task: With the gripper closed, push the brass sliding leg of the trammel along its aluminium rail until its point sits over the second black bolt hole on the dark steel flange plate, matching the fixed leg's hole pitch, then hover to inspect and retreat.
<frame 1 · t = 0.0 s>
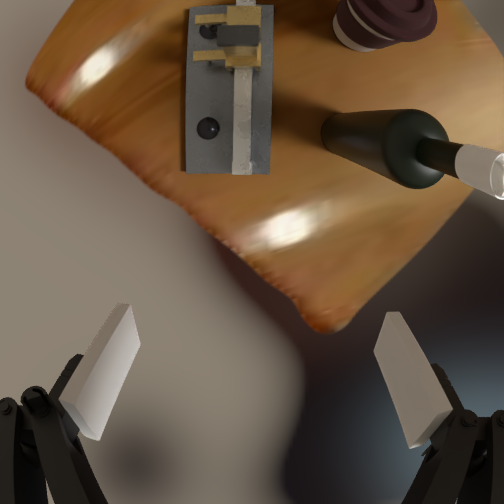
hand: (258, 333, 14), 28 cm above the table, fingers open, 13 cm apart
trammel plate: (229, 84, 33), on the table
wine bottle: (341, 134, 36), on the table
coffee cup: (356, 30, 29), on the table
sliding leg: (224, 50, 25), point 7 cm above the table, slide at 0.0 cm
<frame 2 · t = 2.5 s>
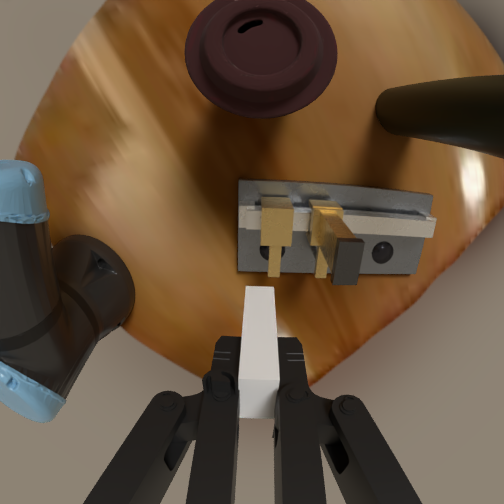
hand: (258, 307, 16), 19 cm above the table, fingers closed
trammel plate: (339, 228, 34), on the table
wine bottle: (396, 111, 28), on the table
coffee cup: (259, 78, 27), on the table
sliding leg: (328, 252, 27), point 7 cm above the table, slide at 0.0 cm
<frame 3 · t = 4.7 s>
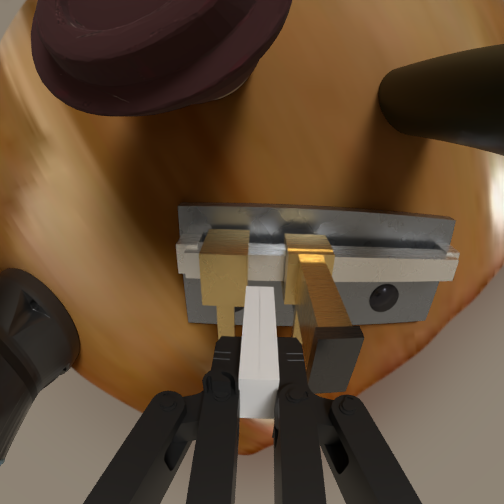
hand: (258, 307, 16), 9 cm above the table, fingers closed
trammel plate: (324, 268, 25), on the table
wine bottle: (408, 101, 19), on the table
coffee cup: (206, 57, 18), on the table
sliding leg: (309, 319, 18), point 7 cm above the table, slide at 0.5 cm, touching gripper
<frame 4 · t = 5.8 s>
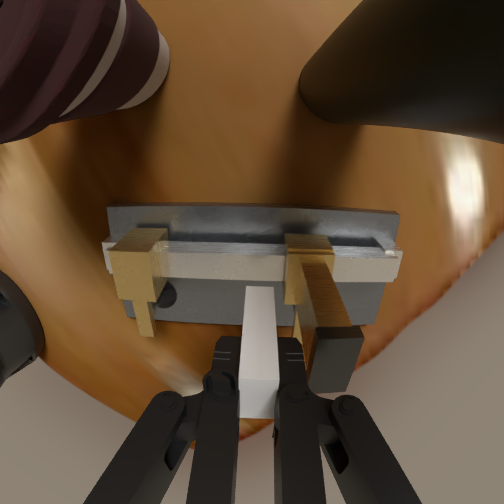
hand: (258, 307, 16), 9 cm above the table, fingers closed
trammel plate: (251, 266, 25), on the table
wine bottle: (336, 87, 19), on the table
coffee cup: (129, 67, 18), on the table
sliding leg: (309, 319, 18), point 7 cm above the table, slide at 6.8 cm, touching gripper
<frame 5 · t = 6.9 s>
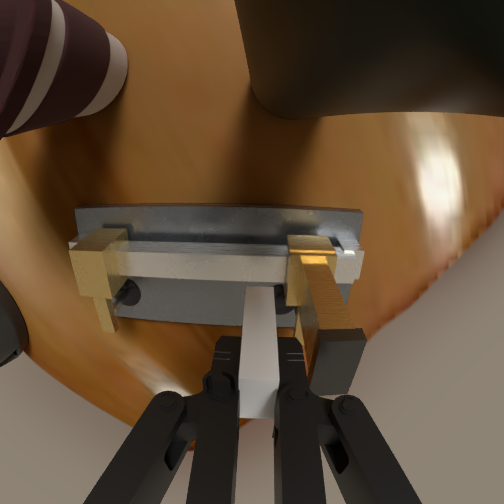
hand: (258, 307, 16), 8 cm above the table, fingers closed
trammel plate: (210, 266, 25), on the table
wine bottle: (291, 83, 19), on the table
coffee cup: (93, 74, 18), on the table
sliding leg: (311, 321, 18), point 7 cm above the table, slide at 10.4 cm, touching gripper
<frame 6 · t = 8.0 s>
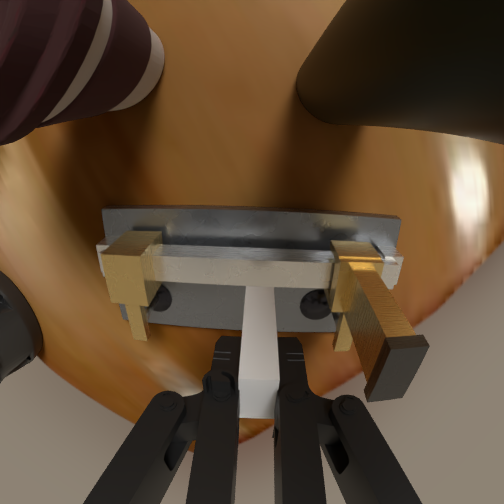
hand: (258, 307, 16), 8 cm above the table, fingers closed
trammel plate: (247, 271, 24), on the table
wine bottle: (335, 87, 18), on the table
coffee cup: (124, 67, 18), on the table
sliding leg: (358, 327, 17), point 7 cm above the table, slide at 10.4 cm
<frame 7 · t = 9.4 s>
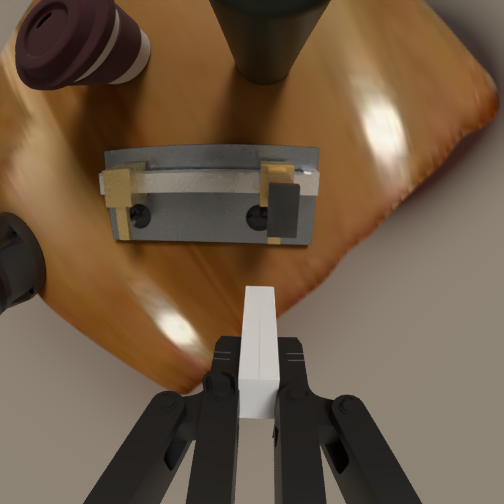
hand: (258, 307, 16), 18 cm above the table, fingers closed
trammel plate: (206, 192, 32), on the table
wine bottle: (263, 60, 26), on the table
coffee cup: (124, 56, 25), on the table
sliding leg: (277, 211, 25), point 7 cm above the table, slide at 10.4 cm
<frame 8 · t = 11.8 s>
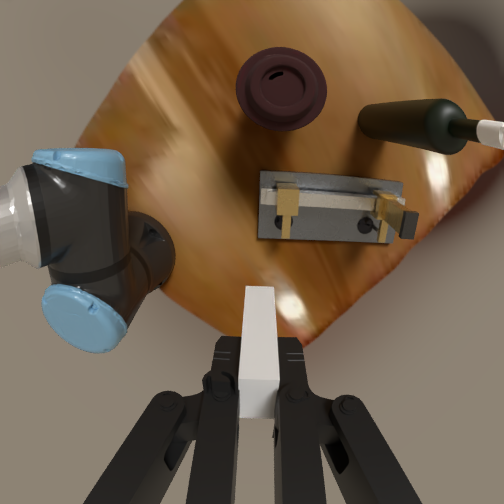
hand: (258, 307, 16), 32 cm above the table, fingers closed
trammel plate: (332, 207, 47), on the table
wine bottle: (373, 121, 41), on the table
coffee cup: (275, 98, 40), on the table
sliding leg: (390, 223, 40), point 7 cm above the table, slide at 10.4 cm
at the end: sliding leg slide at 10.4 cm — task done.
